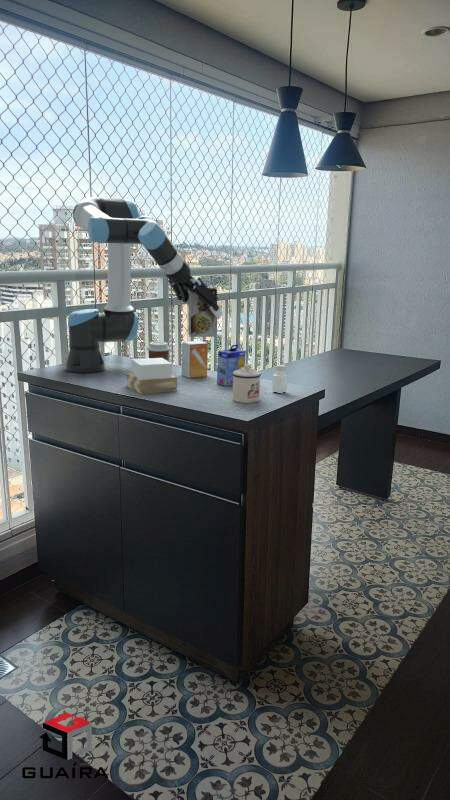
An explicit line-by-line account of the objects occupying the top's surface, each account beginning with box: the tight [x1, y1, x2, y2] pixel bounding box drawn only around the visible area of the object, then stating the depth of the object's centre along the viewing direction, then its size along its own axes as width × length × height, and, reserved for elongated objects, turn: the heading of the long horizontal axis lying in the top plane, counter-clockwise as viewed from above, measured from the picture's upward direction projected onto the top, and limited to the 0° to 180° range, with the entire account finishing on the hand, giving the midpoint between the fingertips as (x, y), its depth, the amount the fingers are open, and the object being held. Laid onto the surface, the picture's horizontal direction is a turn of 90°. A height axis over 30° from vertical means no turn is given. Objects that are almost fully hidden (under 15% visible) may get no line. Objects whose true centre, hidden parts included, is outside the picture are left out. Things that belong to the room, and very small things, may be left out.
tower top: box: [131, 357, 173, 380], centre depth 191 cm, size 11×11×5 cm
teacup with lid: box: [232, 363, 262, 404], centre depth 181 cm, size 12×9×12 cm
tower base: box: [126, 372, 178, 395], centre depth 193 cm, size 13×13×5 cm
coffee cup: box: [146, 341, 171, 362], centre depth 215 cm, size 9×9×12 cm
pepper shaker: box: [271, 364, 288, 394], centre depth 191 cm, size 4×4×10 cm
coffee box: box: [187, 286, 218, 338], centre depth 187 cm, size 9×6×16 cm
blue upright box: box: [216, 344, 247, 387], centre depth 202 cm, size 10×6×14 cm, turn 137°
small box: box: [181, 340, 209, 379], centre depth 213 cm, size 8×6×13 cm
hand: (208, 314), depth 190 cm, fingers closed on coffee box, 10 cm apart
